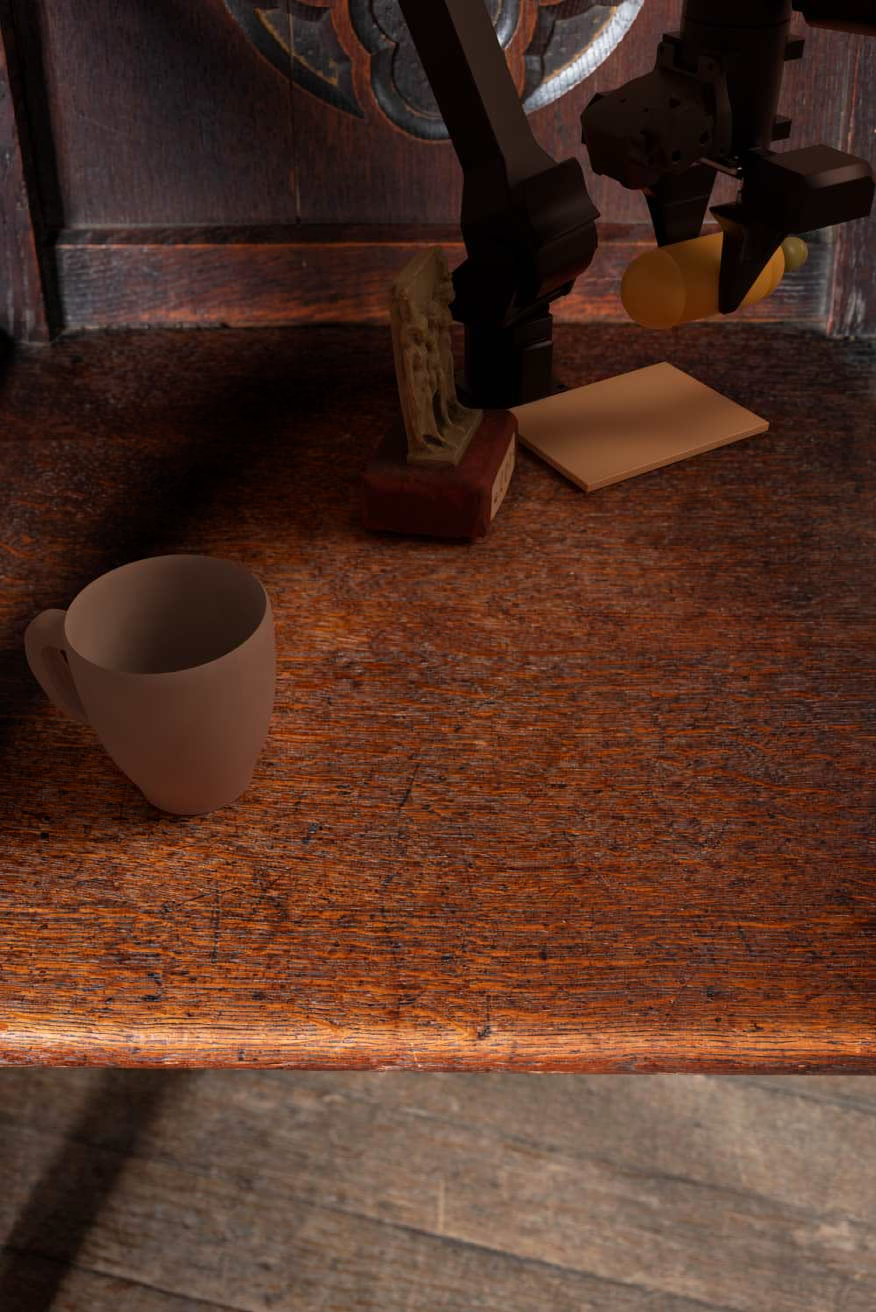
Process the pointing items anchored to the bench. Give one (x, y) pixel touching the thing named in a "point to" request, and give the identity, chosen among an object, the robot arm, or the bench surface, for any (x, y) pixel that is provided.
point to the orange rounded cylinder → (694, 280)
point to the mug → (167, 674)
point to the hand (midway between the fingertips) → (699, 298)
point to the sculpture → (434, 424)
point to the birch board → (631, 425)
